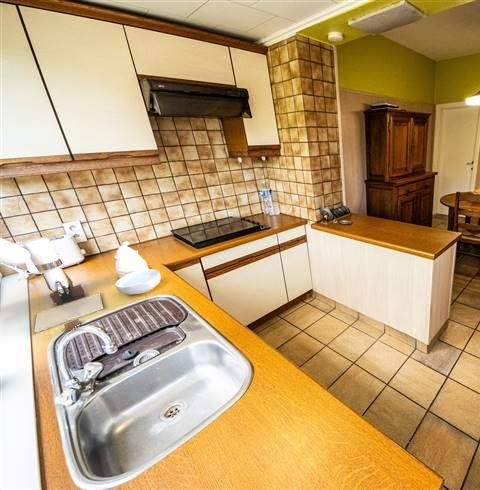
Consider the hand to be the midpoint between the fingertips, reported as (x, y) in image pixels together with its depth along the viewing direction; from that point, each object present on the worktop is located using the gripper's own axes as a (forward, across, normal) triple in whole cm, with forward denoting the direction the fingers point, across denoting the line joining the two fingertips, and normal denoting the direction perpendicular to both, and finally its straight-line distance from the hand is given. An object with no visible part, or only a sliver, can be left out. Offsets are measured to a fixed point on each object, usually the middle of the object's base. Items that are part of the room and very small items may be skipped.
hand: (69, 297), depth 123 cm
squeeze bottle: (+2, -14, -2) cm, 14 cm away
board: (+2, +14, 0) cm, 14 cm away
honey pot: (+2, -9, +25) cm, 27 cm away
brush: (+2, 0, 0) cm, 2 cm away
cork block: (+2, +30, +1) cm, 30 cm away
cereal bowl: (+2, +17, +25) cm, 30 cm away
